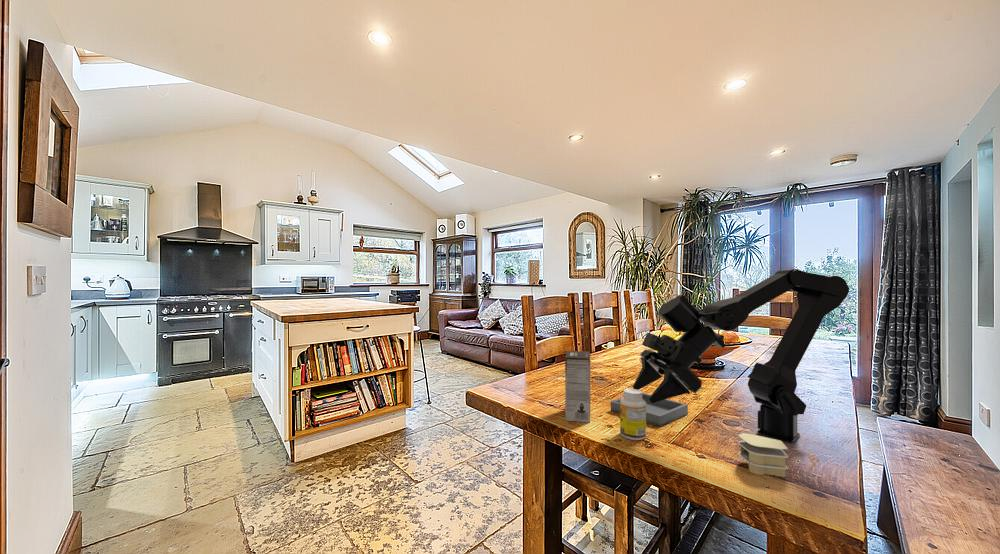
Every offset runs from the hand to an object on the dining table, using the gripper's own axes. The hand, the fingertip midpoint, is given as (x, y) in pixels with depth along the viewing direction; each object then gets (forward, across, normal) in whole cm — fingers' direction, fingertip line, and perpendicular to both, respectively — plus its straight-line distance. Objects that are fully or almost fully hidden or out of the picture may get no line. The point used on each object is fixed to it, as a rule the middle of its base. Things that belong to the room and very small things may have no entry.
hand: (641, 394), depth 83 cm
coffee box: (+15, -13, -1) cm, 20 cm away
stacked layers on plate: (-5, +15, +19) cm, 24 cm away
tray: (+1, -15, +12) cm, 19 cm away
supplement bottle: (+8, 0, +5) cm, 10 cm away
